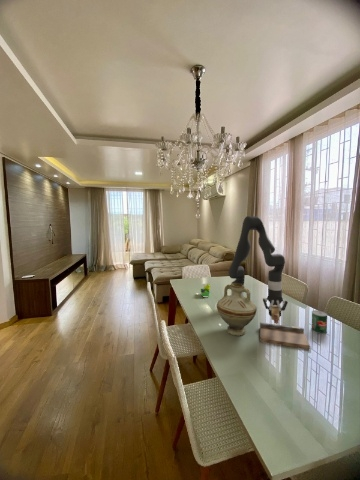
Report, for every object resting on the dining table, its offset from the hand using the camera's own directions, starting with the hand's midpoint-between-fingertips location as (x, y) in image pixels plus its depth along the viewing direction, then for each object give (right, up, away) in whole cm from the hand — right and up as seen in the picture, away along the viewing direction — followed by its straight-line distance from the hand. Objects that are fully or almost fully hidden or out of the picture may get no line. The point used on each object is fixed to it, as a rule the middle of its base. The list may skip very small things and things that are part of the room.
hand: (274, 316), depth 124 cm
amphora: (-21, -12, +6) cm, 25 cm away
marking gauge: (-1, -1, -3) cm, 3 cm away
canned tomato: (+29, -10, +4) cm, 31 cm away
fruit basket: (-33, -7, +70) cm, 77 cm away
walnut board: (+3, -12, -3) cm, 12 cm away
